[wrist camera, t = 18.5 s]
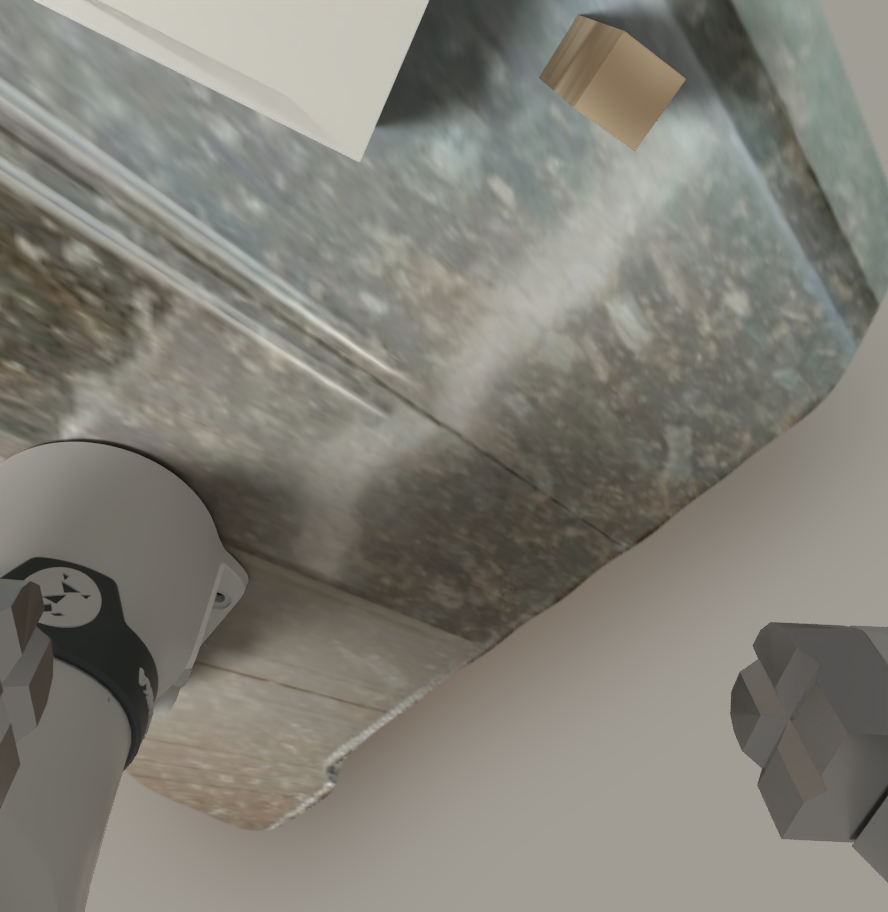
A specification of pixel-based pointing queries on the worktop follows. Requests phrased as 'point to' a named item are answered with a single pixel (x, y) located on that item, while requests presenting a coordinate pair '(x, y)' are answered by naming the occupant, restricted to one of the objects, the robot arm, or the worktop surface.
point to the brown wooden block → (611, 79)
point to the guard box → (273, 54)
